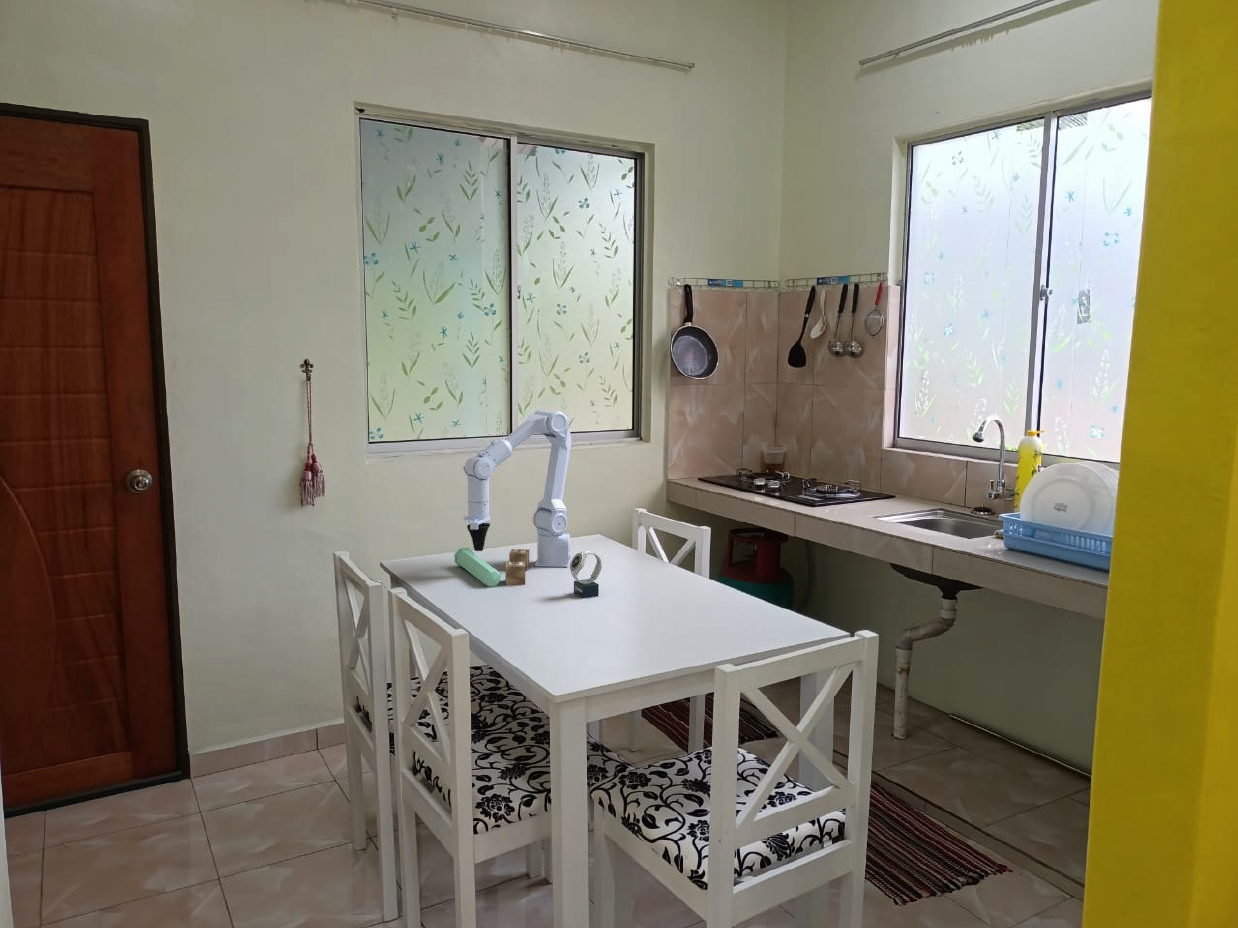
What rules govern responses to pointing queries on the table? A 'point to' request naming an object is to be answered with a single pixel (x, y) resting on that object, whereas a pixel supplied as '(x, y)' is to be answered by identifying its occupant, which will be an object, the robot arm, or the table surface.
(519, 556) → the labelled block
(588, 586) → the watch
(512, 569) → the labelled block
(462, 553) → the container
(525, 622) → the table surface
